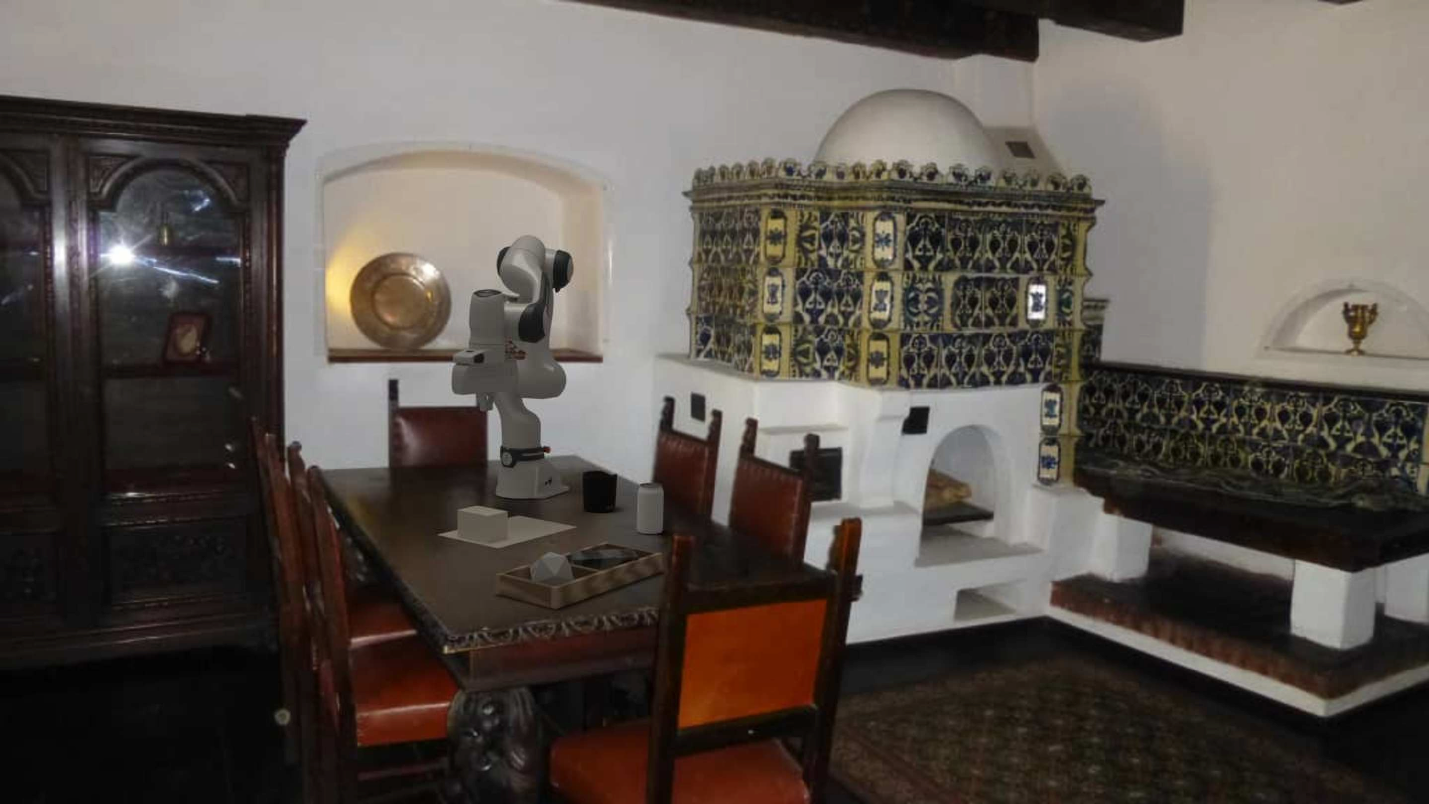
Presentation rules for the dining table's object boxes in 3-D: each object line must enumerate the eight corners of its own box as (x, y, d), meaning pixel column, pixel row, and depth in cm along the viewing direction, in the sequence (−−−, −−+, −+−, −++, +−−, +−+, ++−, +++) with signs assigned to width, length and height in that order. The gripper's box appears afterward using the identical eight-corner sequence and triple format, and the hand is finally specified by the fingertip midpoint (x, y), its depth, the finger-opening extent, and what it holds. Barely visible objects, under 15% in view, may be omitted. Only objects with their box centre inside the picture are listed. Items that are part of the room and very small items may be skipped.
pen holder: (583, 513, 287) (584, 477, 286) (580, 506, 297) (581, 470, 295) (618, 513, 289) (619, 476, 288) (614, 505, 299) (615, 470, 297)
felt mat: (518, 517, 281) (518, 515, 281) (577, 528, 270) (577, 526, 270) (437, 536, 257) (437, 534, 257) (497, 549, 247) (497, 548, 247)
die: (541, 587, 220) (518, 555, 215) (578, 567, 220) (556, 535, 215) (546, 612, 213) (523, 580, 208) (585, 592, 213) (562, 559, 208)
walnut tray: (605, 559, 241) (605, 541, 241) (662, 571, 233) (662, 553, 232) (495, 593, 213) (495, 574, 212) (555, 609, 204) (556, 588, 204)
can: (666, 530, 271) (667, 483, 270) (656, 536, 265) (658, 488, 264) (642, 528, 273) (643, 481, 272) (632, 533, 267) (633, 485, 266)
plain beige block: (457, 509, 255) (457, 536, 256) (487, 515, 250) (487, 543, 251) (477, 505, 261) (477, 531, 262) (507, 511, 255) (507, 538, 256)
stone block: (568, 569, 231) (568, 546, 231) (631, 568, 235) (632, 546, 234) (572, 581, 223) (573, 557, 222) (638, 580, 226) (639, 556, 226)
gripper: (507, 352, 276) (506, 406, 278) (447, 356, 259) (447, 412, 261) (525, 354, 273) (524, 408, 275) (465, 357, 256) (465, 415, 257)
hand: (486, 410), depth 268 cm, fingers closed
